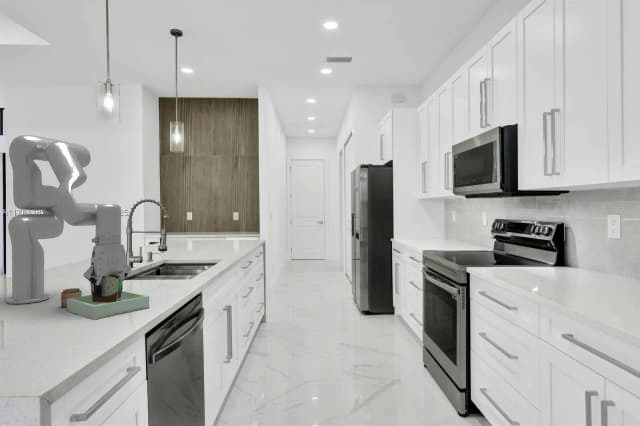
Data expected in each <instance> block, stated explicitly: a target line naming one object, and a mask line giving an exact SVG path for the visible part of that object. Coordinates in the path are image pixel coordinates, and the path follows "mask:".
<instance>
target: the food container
mask: <svg viewBox="0 0 640 426" xmlns="http://www.w3.org/2000/svg"><path fill="white" fill-rule="evenodd" d="M91 276H92V277H93V278H94V276H95V275H92V274H91ZM124 278H125V275H124V273H123V271H122V273H119V274H116V275H109V276H103V277H102V279H101V282H100V285H101V286H102V296H101V297H96V296H95V295H94V284H92V283H91V282H90V281H89V283H90V284H89V285H90V294H91V296H92V302H95V303H112V302H117V301H121V292H122V282H124V281H123V279H124ZM125 279H126V278H125ZM125 279H124V280H125Z"/></svg>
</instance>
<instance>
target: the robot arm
mask: <svg viewBox="0 0 640 426" xmlns="http://www.w3.org/2000/svg"><path fill="white" fill-rule="evenodd" d="M8 148H9V149H8V156H9V157H8V158H9V161H10V165H11V169H12V195H13V196H12V199H13V200H12V201H13V204H14V206H15V207H16V208H17V209H19V210H21V211H22V210H23V211H42V213H22V214H18V215H15V216H13V217H12V218H11V219H10V220H9V222H8V224H7V227H8V234H9V238H10V242H11V244H10V245H11V295H12V296H11V297H8V298H7V299H6V303H7V304H9V305H10V304H12V305H21V304H22V305H23V304H24V305H25V304H32V303H38V302H43V301H46V300H49V299H50V294H48V293H45V250H44V248H43V246H42V245H41V244H40V242H39V240H47V239H50V240H51V239H55V238H58V237H59V238H60V236H61V235H62V234H63V232H64V227H65V222H66V223H67V224H68V225H69V226H72V227H81V226H83V227H84V226H85V227H86V226H93V227H94V226H95V236H94V238H91V243H94V244H95V245H93V247H92V250H91V251H92V252H91V258H90V266H89V268H87V270H86V271H85V272H84V273H83V277H84V278H85V279H86V280H88V282H89V283H90V282H91V283H92V284H94V295H95V296H96V297H101V296H102V286H101V285H100V282H101V279H102V277H103V276H109V275H116V274H119V273H122V271H123V273H124V275H125V278H124V279H123V282H124V281H125V279H126V278H127V277H128V275H129V274H130V273H131V272H132V268H131V267H130V266H129V265H127V263H128V262H127V255H126V249H125V245H124V244H123V243H122V207H121V206H120V205H119V204H117V203H116V204H115V203H114V204H111V203H90V202H88V203H87V202H77V201H76V198H75V197H74V194H73V191H72V190H74V189H76V188H79V187H80V186H83V185H84V184H85V183H86V181H87V177H88V176H87V174H86V172H85V170H84V168H86V167H87V166H89V165H90V163H91V153H90V151H89V149H88V148H87V147H86V146H84V145H81V144H78V143H77V144H76V143H72V142H68V141H66V140H59V139H55V138H50V137H44V136H40V135H39V136H38V135H31V134H29V135H28V134H24V135H22V134H21V135H18V136H15V137H14V138H13V139H12V141H11V143H10V144H9V147H8ZM35 161H44V162H48V163H49V165H50V167H51V169H52V171H53V173H54V175H55V177H56V179H57V180H58V183H59V185H58V187H56V186H54V185H46V184H44V185H43V180H42V179H43V176H42V171H41V169H40V167H39V165H38V164H37V163H36V162H35ZM91 274H92V275H95V276H94V278H93V277H92V276H91ZM123 282H122V290H123V284H124V283H123ZM123 291H124V290H123ZM121 293H122V292H121Z"/></svg>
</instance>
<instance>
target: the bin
mask: <svg viewBox="0 0 640 426" xmlns="http://www.w3.org/2000/svg"><path fill="white" fill-rule="evenodd" d="M145 309H150V295H146V294H141V293H136V292H131V291H127V290H122V293H121V301H117V302H112V303H95V302H92V296H91V295H90V294H88V295H82V296H81V297H75V298H69V299H67V308H66V312H69V313H71V314H74V315H75V314H76V315H79V316H82V317H85V318H87V319H88V318H89V319H91V320H94V321H95V320H100V319H104V318H108V317H113V316H117V315H122V314H128V313H131V312H135V311H140V310H145Z"/></svg>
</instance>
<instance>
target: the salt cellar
mask: <svg viewBox="0 0 640 426" xmlns="http://www.w3.org/2000/svg"><path fill="white" fill-rule="evenodd" d="M82 292H83V291H82V290H80V288H79V287H78V288H77V287H75V288H74V287H72V288H65V289H63V291H61V293H60V308H61V309H67V299H69V298H75V297H81V296H83V294H82Z"/></svg>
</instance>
